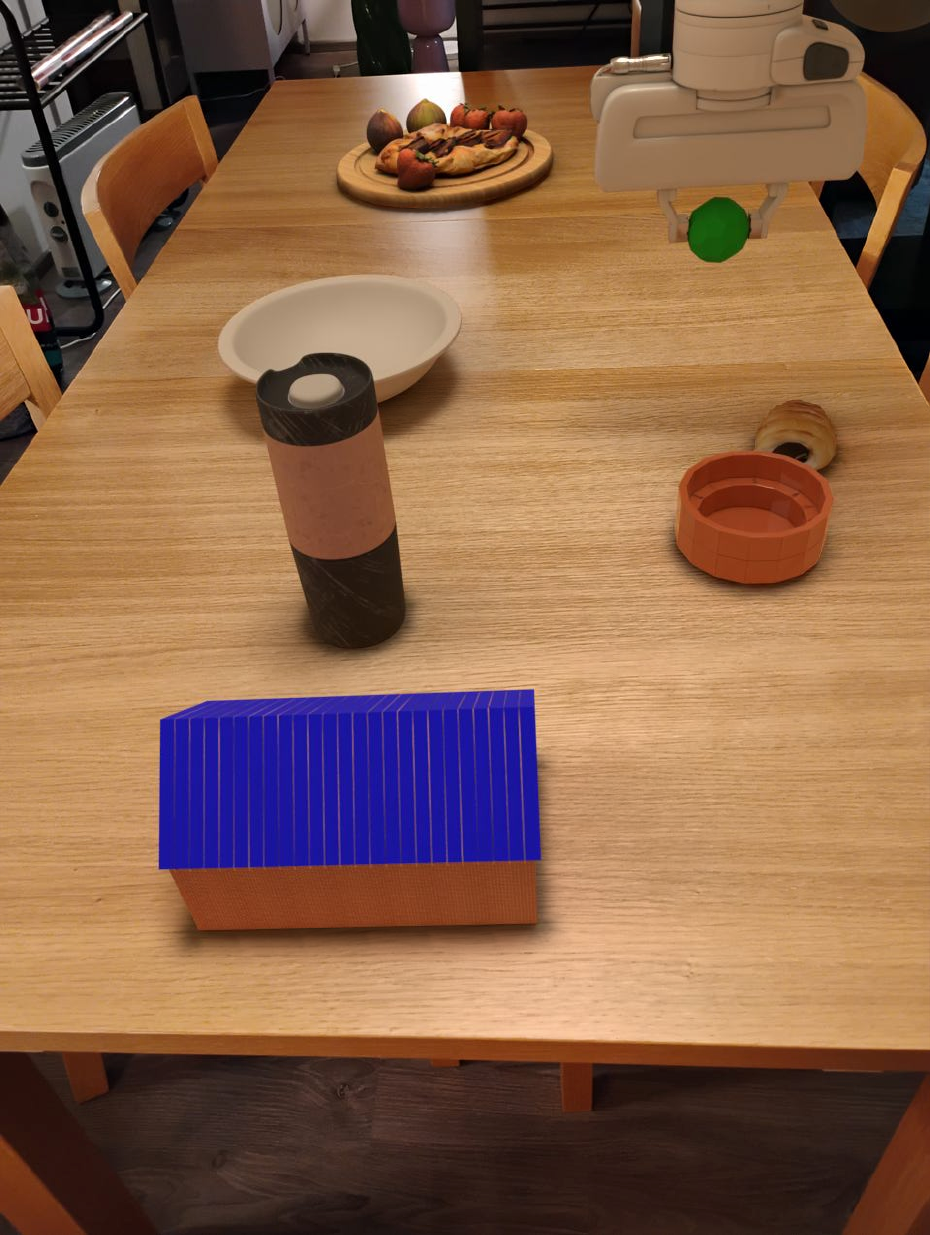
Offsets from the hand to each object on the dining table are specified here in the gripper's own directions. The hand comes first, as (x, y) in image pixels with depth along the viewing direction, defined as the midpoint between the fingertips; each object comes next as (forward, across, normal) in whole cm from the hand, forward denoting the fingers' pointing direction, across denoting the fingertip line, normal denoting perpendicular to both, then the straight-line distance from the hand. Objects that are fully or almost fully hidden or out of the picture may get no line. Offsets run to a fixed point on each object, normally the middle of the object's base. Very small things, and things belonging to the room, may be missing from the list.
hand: (717, 238), depth 81 cm
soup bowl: (+17, -35, +8) cm, 39 cm away
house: (+17, -24, -48) cm, 56 cm away
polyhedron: (+2, 0, 0) cm, 2 cm away
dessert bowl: (+17, +2, -19) cm, 25 cm away
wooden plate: (+17, -30, +70) cm, 78 cm away
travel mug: (+17, -28, -27) cm, 43 cm away
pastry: (+17, +7, -6) cm, 19 cm away
